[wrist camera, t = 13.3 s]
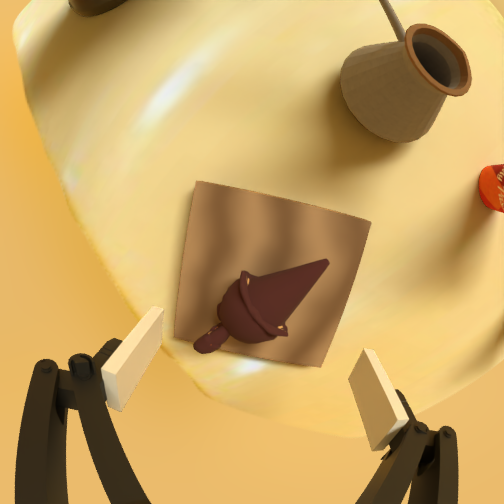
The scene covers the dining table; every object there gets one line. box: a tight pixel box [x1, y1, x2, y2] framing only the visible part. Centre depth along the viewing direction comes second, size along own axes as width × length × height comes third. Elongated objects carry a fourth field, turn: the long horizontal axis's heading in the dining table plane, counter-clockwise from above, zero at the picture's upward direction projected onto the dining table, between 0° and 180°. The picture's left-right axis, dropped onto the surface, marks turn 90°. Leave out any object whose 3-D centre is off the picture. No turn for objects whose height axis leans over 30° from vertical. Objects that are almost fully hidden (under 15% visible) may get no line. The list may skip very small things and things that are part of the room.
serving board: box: [174, 181, 371, 367], centre depth 29 cm, size 18×18×2 cm
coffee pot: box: [340, 0, 472, 142], centre depth 16 cm, size 21×12×15 cm, turn 30°
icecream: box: [193, 258, 330, 354], centre depth 25 cm, size 7×7×15 cm
